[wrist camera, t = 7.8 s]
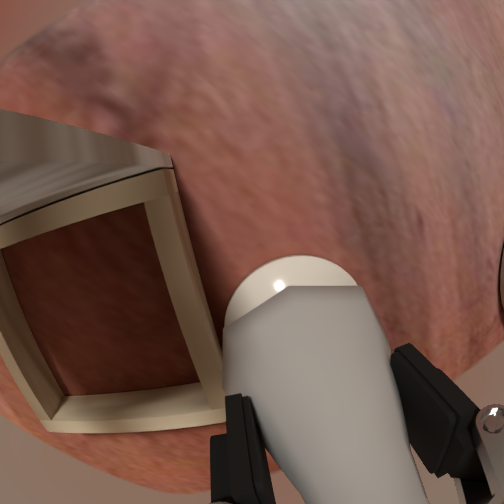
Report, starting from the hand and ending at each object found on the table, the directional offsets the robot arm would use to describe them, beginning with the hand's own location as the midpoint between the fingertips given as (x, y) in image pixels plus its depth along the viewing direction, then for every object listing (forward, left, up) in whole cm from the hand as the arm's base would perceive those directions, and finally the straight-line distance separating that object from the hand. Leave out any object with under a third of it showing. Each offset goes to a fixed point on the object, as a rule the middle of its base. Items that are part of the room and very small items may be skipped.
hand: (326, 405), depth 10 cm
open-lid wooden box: (+10, -3, -6) cm, 12 cm away
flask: (0, 0, -3) cm, 3 cm away
